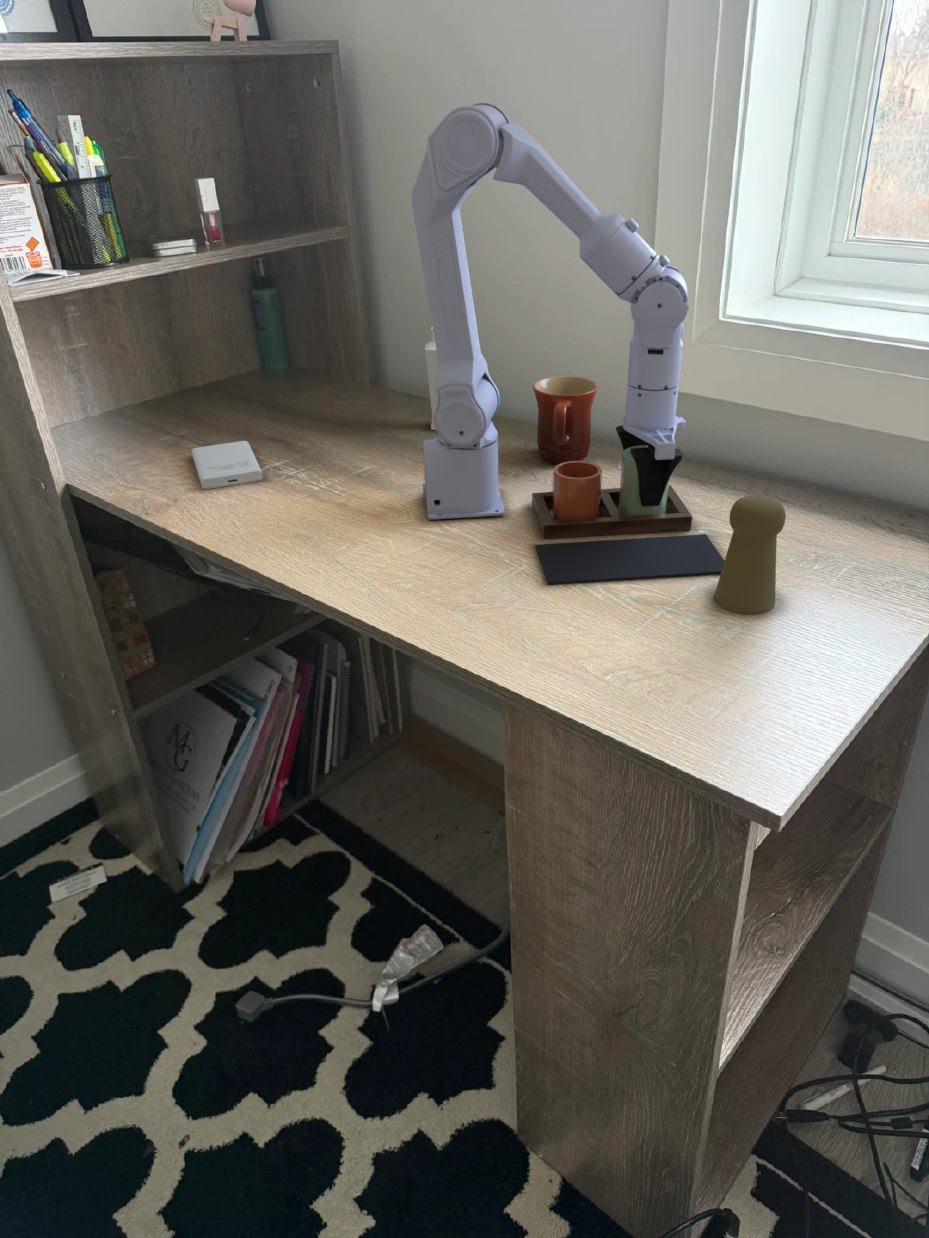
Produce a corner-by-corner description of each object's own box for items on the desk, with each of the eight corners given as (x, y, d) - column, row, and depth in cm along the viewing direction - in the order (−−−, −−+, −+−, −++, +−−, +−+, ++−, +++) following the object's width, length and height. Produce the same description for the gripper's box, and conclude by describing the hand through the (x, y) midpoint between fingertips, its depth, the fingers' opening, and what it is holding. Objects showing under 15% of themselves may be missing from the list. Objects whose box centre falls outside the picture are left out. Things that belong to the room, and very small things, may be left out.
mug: (536, 444, 131) (537, 374, 126) (596, 447, 130) (600, 376, 124) (524, 476, 121) (525, 402, 116) (589, 479, 120) (593, 404, 114)
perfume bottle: (438, 419, 142) (434, 322, 134) (461, 424, 139) (457, 326, 132) (420, 428, 138) (415, 329, 131) (443, 433, 136) (439, 333, 128)
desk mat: (547, 584, 96) (547, 582, 95) (535, 546, 103) (535, 544, 103) (731, 573, 97) (731, 570, 97) (705, 536, 104) (706, 534, 104)
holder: (543, 539, 105) (543, 525, 104) (531, 506, 113) (532, 492, 112) (691, 530, 106) (692, 516, 105) (669, 498, 114) (670, 484, 113)
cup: (624, 526, 107) (629, 463, 103) (614, 507, 112) (618, 446, 108) (670, 524, 107) (677, 461, 103) (658, 504, 112) (664, 444, 108)
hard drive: (249, 450, 132) (263, 480, 122) (192, 459, 130) (202, 490, 120) (247, 440, 132) (261, 469, 122) (190, 448, 129) (199, 478, 119)
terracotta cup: (556, 531, 107) (558, 480, 103) (549, 511, 111) (550, 462, 108) (603, 528, 107) (606, 477, 103) (593, 508, 112) (596, 459, 108)
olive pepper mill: (739, 619, 89) (755, 518, 83) (702, 592, 93) (714, 494, 88) (787, 605, 91) (806, 506, 85) (749, 579, 95) (764, 483, 90)
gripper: (707, 401, 95) (694, 518, 102) (670, 363, 107) (660, 469, 114) (642, 405, 95) (633, 521, 102) (612, 366, 107) (605, 473, 114)
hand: (643, 494), depth 108 cm, fingers closed on cup, 5 cm apart
